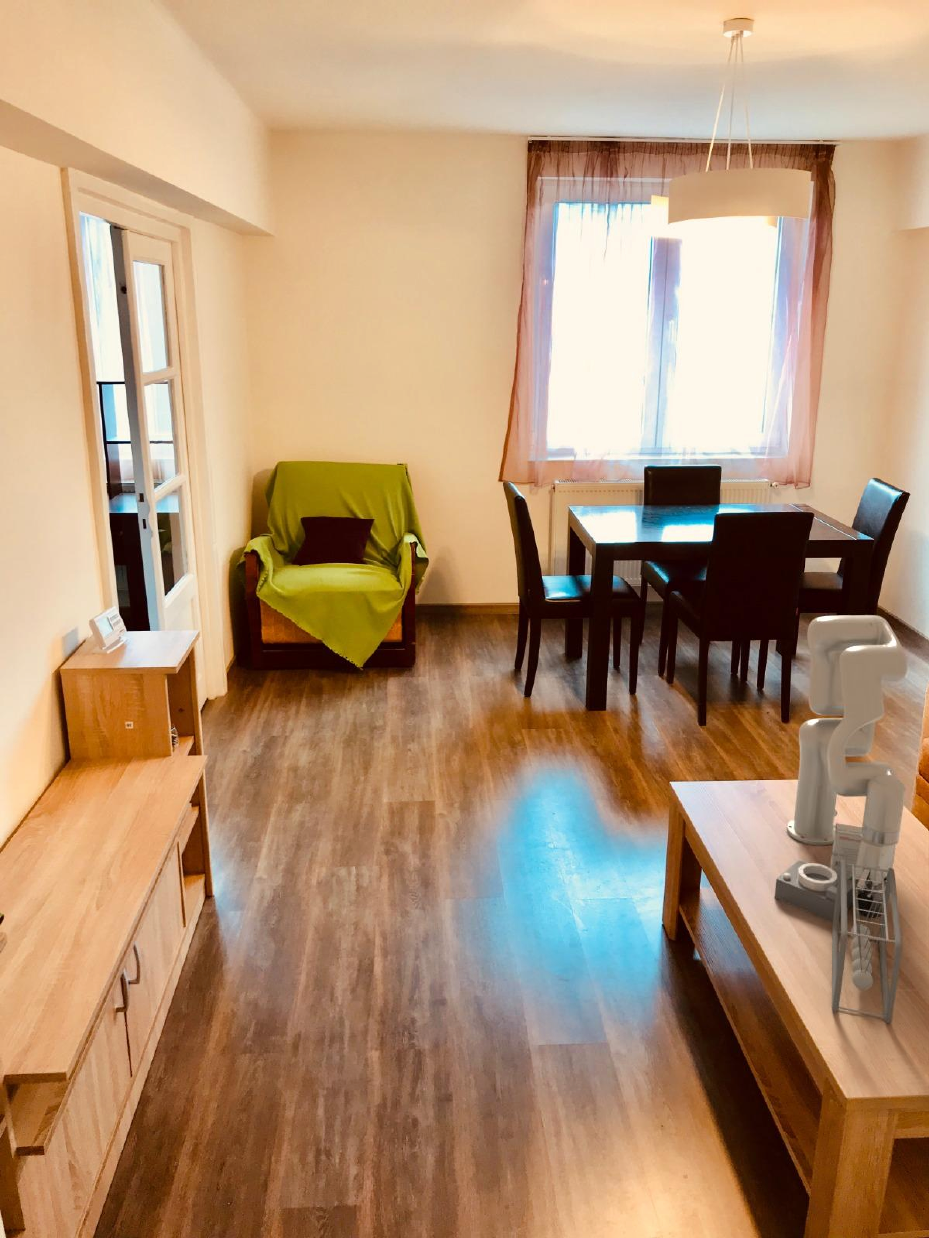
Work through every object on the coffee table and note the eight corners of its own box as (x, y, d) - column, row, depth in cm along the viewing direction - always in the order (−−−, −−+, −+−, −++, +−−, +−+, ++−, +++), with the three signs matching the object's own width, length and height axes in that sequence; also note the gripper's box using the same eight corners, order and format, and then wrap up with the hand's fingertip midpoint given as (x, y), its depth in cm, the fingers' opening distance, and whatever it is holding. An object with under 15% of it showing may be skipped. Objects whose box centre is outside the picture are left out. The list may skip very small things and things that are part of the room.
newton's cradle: (832, 927, 212) (840, 855, 207) (883, 936, 209) (894, 864, 203) (831, 1015, 185) (841, 936, 180) (890, 1028, 182) (902, 947, 176)
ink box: (830, 876, 231) (835, 832, 227) (829, 865, 236) (835, 822, 232) (868, 882, 228) (874, 838, 225) (867, 871, 233) (873, 827, 229)
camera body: (797, 878, 230) (799, 852, 228) (854, 902, 221) (858, 875, 219) (774, 897, 223) (777, 870, 221) (833, 922, 213) (836, 895, 211)
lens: (863, 902, 220) (867, 872, 218) (885, 911, 217) (889, 880, 215) (853, 912, 217) (857, 881, 215) (876, 921, 214) (880, 889, 211)
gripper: (879, 811, 219) (870, 880, 225) (846, 840, 208) (837, 912, 213) (913, 823, 214) (903, 893, 220) (881, 853, 203) (871, 926, 208)
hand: (871, 901), depth 216 cm, fingers open, 7 cm apart
